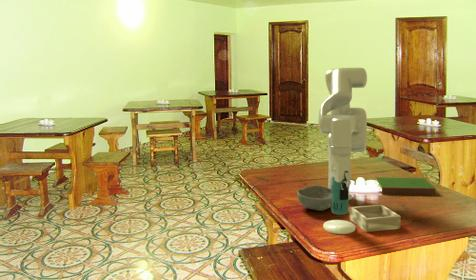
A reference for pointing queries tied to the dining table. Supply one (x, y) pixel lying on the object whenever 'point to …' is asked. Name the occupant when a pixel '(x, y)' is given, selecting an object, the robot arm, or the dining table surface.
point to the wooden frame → (374, 218)
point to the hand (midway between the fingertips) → (339, 196)
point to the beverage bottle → (338, 199)
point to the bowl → (315, 197)
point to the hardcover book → (405, 186)
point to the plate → (339, 227)
